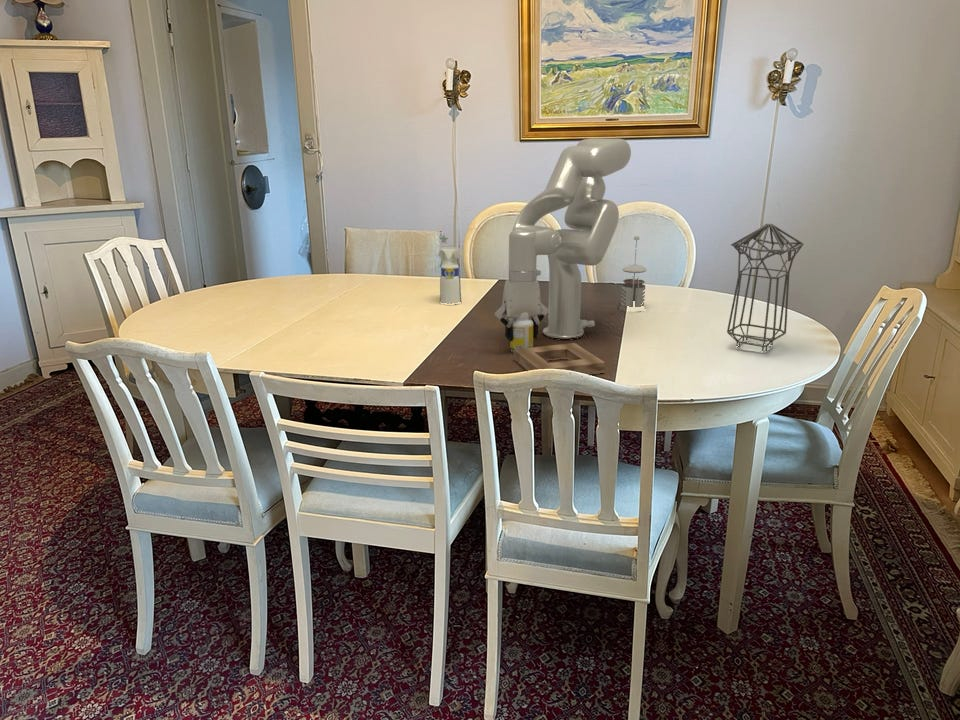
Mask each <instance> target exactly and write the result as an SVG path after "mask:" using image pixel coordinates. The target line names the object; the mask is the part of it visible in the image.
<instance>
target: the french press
mask: <svg viewBox="0 0 960 720" xmlns="http://www.w3.org/2000/svg"><path fill="white" fill-rule="evenodd" d="M633 240H635V247H637V243H638V242H637V241H638V240H640V236H638V235H635V236H634V237H633ZM634 254H635V255H634V256H635V257H634V263H633V264H630V265H626V266H625V267H623V268H622V269H621V270H622V271H623V272H625V273H629V274H633V276H632V278H626V279H624V280H622V281H623V284H622V285H621V299H620V301H621V302H620V305H621V304H622V305H625V304H624V302H625V303H626V305H625V306H629V307H633V301H635V307H641V306H644V307H645V296H646V294H645V293H646V291H645V290H646V285H645V284H644V283H645V280H644V279H640V278H639V277H640V276H639V275H637V278H635V277H636V276H635V275H636V274H642V273H646V272H647V268H645V266H642V265H639V264H637V263H636V258H637V250H635V253H634ZM642 303H643V304H642ZM641 304H642V305H641Z"/></svg>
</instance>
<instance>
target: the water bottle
mask: <svg viewBox="0 0 960 720" xmlns="http://www.w3.org/2000/svg"><path fill="white" fill-rule="evenodd" d="M439 239H440V240H441V241H440V244H443V243H444V244H447V240H448V239H449V238H448V237H446V236H445V234H443V235H442V236H441V237H439ZM463 253H464V252H463V251H462V248H460V247H453V246H450V247H449V246H447V247H442V248H440V249H439V251H438V254H437V255H438V257H439V258H440V259H441V264H440V265H439V267H440V271H441V273H440V274H441V275H440V279H439V281H440V283H439V289H440V291H439V293H440V295H439V303H440V302H441V303H447V304H449V303H450V304H452V303H458V302H461V303H462V292H461V289H462V288H461V287H462V286H461V277H460V266H461V265H460V263H459V259H460V258H461V257H462V256H463Z"/></svg>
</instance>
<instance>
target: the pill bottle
mask: <svg viewBox="0 0 960 720" xmlns="http://www.w3.org/2000/svg"><path fill="white" fill-rule="evenodd" d="M511 327H512V328H513V341H509V342H510V343H509V346H510V347H509V348H510V349H511V350H510V351H511V352H512V351H513V352H512V353H514V349H523V348H532V347H534V338H533V321H532V319H531V317H530V316H528V313H522V314H521V316H520V317H518V318H514V320H513V323H512V325H511Z"/></svg>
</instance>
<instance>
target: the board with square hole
mask: <svg viewBox="0 0 960 720" xmlns="http://www.w3.org/2000/svg"><path fill="white" fill-rule="evenodd" d="M561 357H568V358H570V359H571V361H568V360H562V361H555V362H554V361H553V362H549V361H548V362H547V361H545V360H547V359H554V358H561ZM514 359H515V360H516V361H517V362H519V363H520V364H521V365H522V366H523V367H524V368H526V370H532V369H543V368H558V369H567V370H573V371H578V372H583V373H587V374H589V373H588V372H595V371H601V370H605V367H606V362H605V361H604V360H602V359H600V358H599V357H598V356H596V355H595V354H593V353H591V352H589V351H588V350H586V349H585V348H583V347H581V346H580V345H579V344H577V343H576V342H570V343H562V344H553V345H542V346H533V347H532V348H523V349H514V352H513V360H514ZM516 361H515V362H516ZM517 362H516V363H517ZM522 366H521V367H522ZM523 367H522V368H523ZM524 368H523V369H524ZM526 370H525V371H526Z"/></svg>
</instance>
